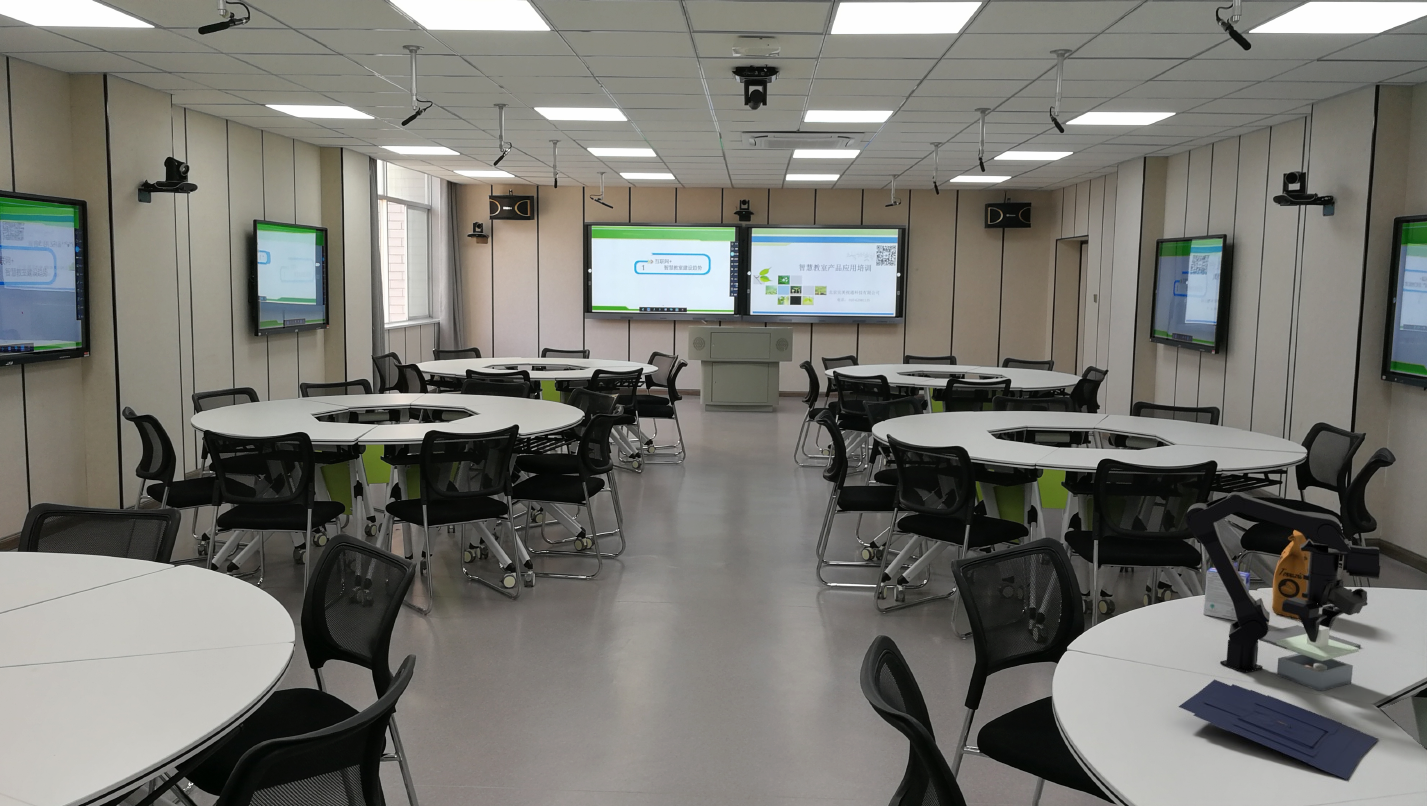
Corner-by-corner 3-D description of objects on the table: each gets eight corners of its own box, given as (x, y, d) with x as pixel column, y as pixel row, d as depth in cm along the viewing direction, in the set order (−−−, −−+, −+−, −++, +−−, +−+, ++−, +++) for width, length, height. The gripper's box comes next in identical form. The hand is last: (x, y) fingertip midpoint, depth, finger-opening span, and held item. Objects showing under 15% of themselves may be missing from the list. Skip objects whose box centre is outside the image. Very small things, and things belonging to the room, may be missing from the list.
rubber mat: (1314, 658, 239) (1315, 656, 239) (1252, 637, 254) (1252, 635, 253) (1360, 647, 248) (1360, 644, 247) (1297, 627, 262) (1297, 625, 262)
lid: (1324, 664, 218) (1326, 638, 217) (1276, 648, 228) (1278, 623, 227) (1358, 656, 223) (1360, 630, 223) (1309, 640, 233) (1311, 616, 233)
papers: (1215, 689, 217) (1218, 673, 216) (1376, 751, 197) (1380, 734, 196) (1171, 722, 200) (1175, 705, 199) (1343, 794, 179) (1347, 775, 179)
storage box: (1320, 691, 219) (1322, 673, 219) (1276, 675, 228) (1278, 658, 228) (1351, 682, 224) (1352, 665, 224) (1307, 667, 233) (1308, 650, 233)
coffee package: (1265, 613, 273) (1271, 533, 271) (1275, 602, 283) (1281, 525, 280) (1307, 621, 267) (1313, 539, 264) (1316, 610, 276) (1322, 531, 274)
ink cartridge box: (1247, 617, 269) (1252, 564, 268) (1243, 622, 265) (1248, 568, 263) (1207, 610, 275) (1211, 557, 274) (1202, 615, 271) (1206, 562, 269)
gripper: (1333, 587, 212) (1327, 659, 214) (1386, 576, 221) (1379, 646, 222) (1282, 573, 222) (1277, 642, 224) (1335, 564, 231) (1329, 630, 232)
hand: (1317, 640), depth 225 cm, fingers closed on lid, 3 cm apart
